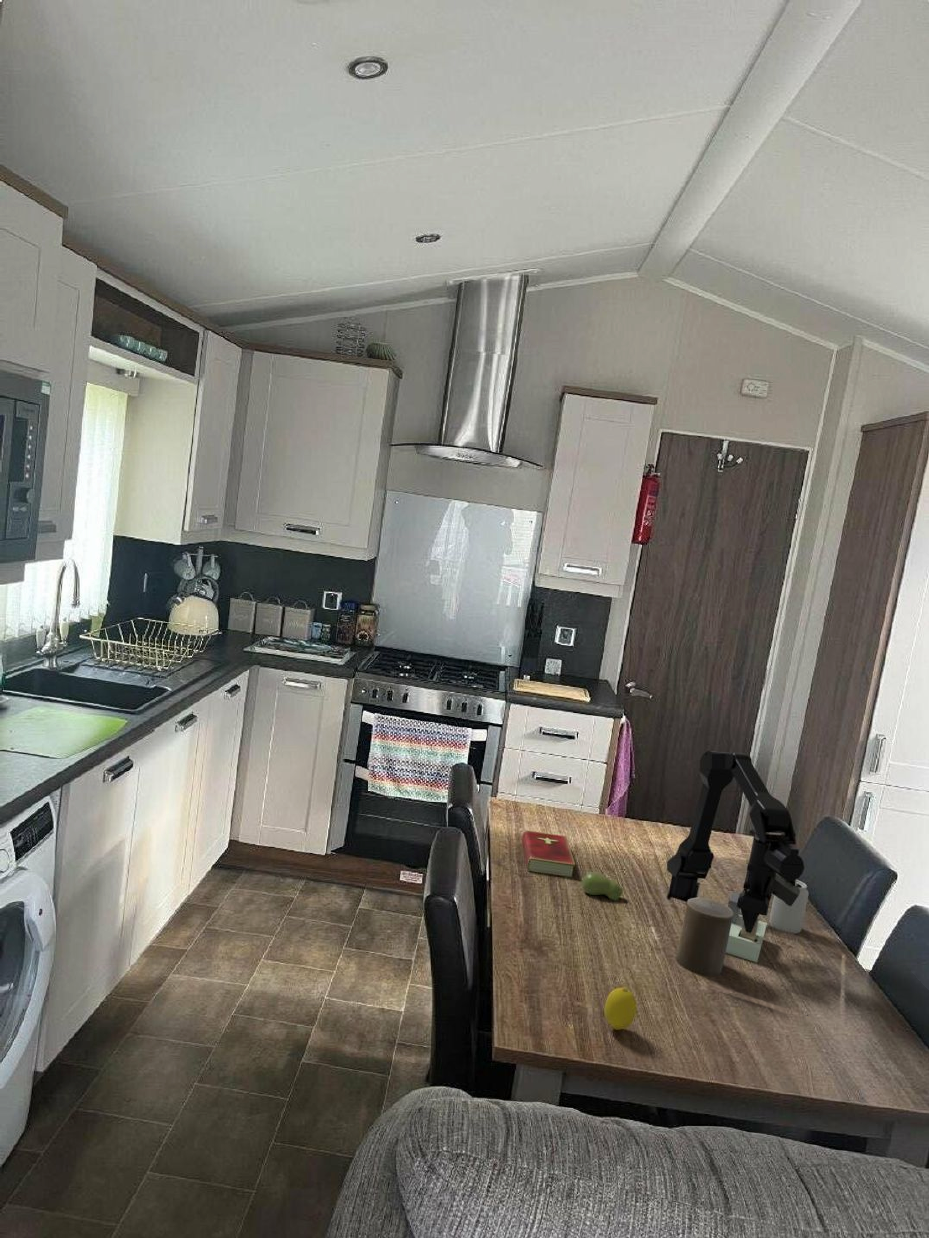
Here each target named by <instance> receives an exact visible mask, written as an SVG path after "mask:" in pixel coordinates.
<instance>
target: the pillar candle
mask: <svg viewBox="0 0 929 1238" xmlns="http://www.w3.org/2000/svg"><path fill="white" fill-rule="evenodd" d="M732 919H733V911H732V909H730V908H729V907H728V905H725V904H723V903H721V902H718V901H716V900H711V899H708V898H702V897H699V896H698V897H696V898H691V899H689V900H688V901H687V902H686V907H685V912H684V916H683V920H682V921H683V922H682V924H681V925H682V926H681V931H680V935H679V940H678V946H677V949H676V952H675V957H674V959H675V962H676V963H677V964H678V965H680V966H681V967H683V968H684V969H685V970H687V971H689V972H691V973H695V974H698V975H702V976H708V977H709V976H711V977H714V976H718V975H720V974H722V972H723V966H724V964H725V963H724V962H725V958H726V954H727V953H726V948H727V943H728V939H729V934H730V929H731V924H732Z"/></svg>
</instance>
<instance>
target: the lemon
mask: <svg viewBox="0 0 929 1238" xmlns="http://www.w3.org/2000/svg"><path fill="white" fill-rule="evenodd" d="M636 1014H637V1001H636V998H635V995H634V994H633V993H632V992H631V991H630V990H629V989H627V988H626V987H618V988H615V989H613V990H612V991H611V992H610V993H609V994H608V996H607V998H606V1001H605V1004H604V1016H605V1019H606V1021H607V1022H608V1024H609V1025H610V1026H612V1027H613V1029H614V1030H616V1031H619V1030H624V1029H627V1028H629V1027H630V1026H631V1025H632V1024H633V1022H634V1021H635V1017H636Z"/></svg>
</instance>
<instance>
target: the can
mask: <svg viewBox="0 0 929 1238" xmlns="http://www.w3.org/2000/svg"><path fill="white" fill-rule="evenodd" d="M797 886H798V887H799V889H800V893H799V896H798V897H797V899H796V900H795V902H794V903H793V905H792V906H788V905H787V904H785V902H784V901H782V900H781V899H779V898H778V897H776V896H775V895H774V894H773V900H772V906H771V910H770V915H769V921H768V923H769V924H770V926H771V927H773V928H772V929H775V930H779V931H783V932H786V933H788V934H792V935H797V934H798V933H801V931H802V928H803V923H804V917H805V913H806V907H807V903H808V899H809V894H810V892H809V891H808V889H807V888H808V886H807V884H806V883H805V882H803V881H801V880H798V879H796V887H797Z"/></svg>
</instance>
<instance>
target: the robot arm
mask: <svg viewBox="0 0 929 1238" xmlns="http://www.w3.org/2000/svg"><path fill="white" fill-rule="evenodd" d="M752 761H753V760H752V758H751V756H750V755H748V754H747V753H739V752H726V751H725V752H724V751H713V750H707V751H705V752H703V754H702V756H701V757H700V760H699V771H698V773H699V775H700V778H701V782H702V785H701V789H700V793H699V796H698V800H697V805H696V807H695V811H694V816H693V819H692V823H691V827H690V830H689V834H688V836H687V837H686V838H685V839H684V840H683V841H681V843H679V846H678V847H677V850H676V853H675V855H673V856H672V857H671V858H670V859H668V861H666V871H667V872H668V873H670V875H671V879H670V883H669V888H668V889H669V890H668V892H667V895H666V898H667V899H670V900H671V899H675V900H678V901H682V902H686V903H687V901H688V900H689V899H691V898H696V897H698V898H699V892H700V885H701V882H699V880H700V879H702V880H706V878H707V875H708V873H709V871H710V869H712V865H713V864H712V863H713V859H714V857H715V855H714V853H713V852H712V849H711V847H710V843H709V842H710V839H711V835H712V831H713V827H714V824H715V821H716V817H717V814H718V810H719V806H720V804H721V803H720V802H721V799H722V795H723V791H724V790H725V789H726V788H727V787H728V786H729V785H730V784H731V783H732V782H733V780H734V779H735V780H736V782H737V785H738V786H739V787H740V790H741V791H742V793H743V795H744V797H745V798H746V800H747V802H748V804H749V806H750V808H749V809H750V810H749V813H748V815H749V817H750V820H751V823H752V825H753V827H754V828H753V829H750V830H749V832H748V833H749V834H750V835H751V836H752V837H753V840H752V844H751V849H750V854H749V859H748V863H747V866H746V876H745V879H744V882H743V886H742V888H743V890H742V892H740V893H739V894H740V895H739V898H738V902H737V907H738V908H740V913H741V915H742V917H743V921H744V926H745V930H746V932H748V933H751V932H752V930H753V927H754V925H755V923H756V921H757V918H758V916H759V915H760V916H767V914H768V912H769V908H770V907H769V906H770V901H771V898H772V895H773V896H774V895H775V896H776V897H778V898H779V899H781V900H782V901H784V902H785V904H787V905H788V906H792V905H793V903H794V902H795V900H796V899H797V897H798V896H799V893H800V889H799V887H798V886H797V887H796V880H798V879H799V878H800V877H801V876H802V875H803V873H804V870H805V864H804V861H803V859H802V857H801V856H800V855H799V852H800V850H799V849H798V848H797V847H794V845H796V844H797V842H796V836H797V835H796V831H795V830H794V826H793V821H792V816H791V813H790V811H789V810H788V809H787V807H786V806H785V805H784V804H783V802H782V801H780V800H779V799H777V798H775V797H774V796H772V795H771V793H770V792H769V790H768V789H767V786H766V785H765V783H764V781H763V780H762V779H761V776H760V775H759V773H758V771H757V770H756V768H755V766H754V765H753V764H752V763H753V762H752ZM792 845H793V846H792Z"/></svg>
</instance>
